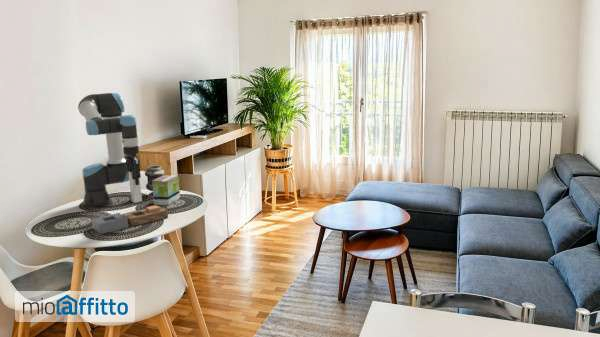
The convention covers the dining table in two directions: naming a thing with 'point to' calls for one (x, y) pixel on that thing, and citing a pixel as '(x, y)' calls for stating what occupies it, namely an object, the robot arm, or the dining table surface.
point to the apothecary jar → (153, 176)
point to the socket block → (145, 216)
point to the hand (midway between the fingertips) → (135, 189)
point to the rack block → (109, 223)
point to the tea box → (166, 189)
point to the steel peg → (134, 194)
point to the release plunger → (152, 208)
